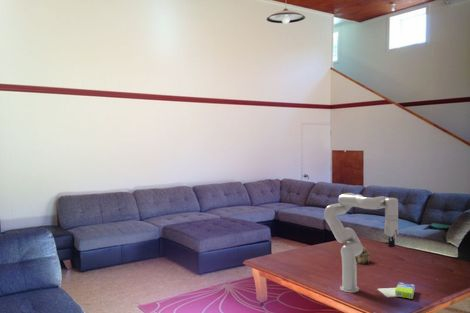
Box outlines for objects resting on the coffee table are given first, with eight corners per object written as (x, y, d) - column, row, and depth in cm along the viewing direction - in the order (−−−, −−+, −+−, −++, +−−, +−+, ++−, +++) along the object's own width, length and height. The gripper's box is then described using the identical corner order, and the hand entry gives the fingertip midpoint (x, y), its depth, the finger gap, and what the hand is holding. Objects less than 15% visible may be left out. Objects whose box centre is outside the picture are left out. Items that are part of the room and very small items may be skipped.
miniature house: (346, 260, 337) (346, 247, 337) (358, 258, 343) (358, 245, 343) (359, 265, 324) (359, 251, 323) (371, 262, 330) (371, 249, 330)
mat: (377, 289, 270) (377, 288, 270) (399, 288, 271) (399, 287, 271) (387, 297, 256) (387, 296, 256) (410, 296, 257) (410, 295, 257)
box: (412, 299, 251) (414, 290, 266) (412, 293, 250) (415, 284, 265) (394, 296, 256) (398, 287, 271) (394, 290, 256) (398, 281, 271)
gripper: (380, 215, 253) (380, 244, 254) (391, 220, 239) (391, 250, 239) (391, 215, 254) (391, 243, 255) (403, 219, 239) (403, 249, 240)
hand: (391, 246), depth 247 cm, fingers closed
